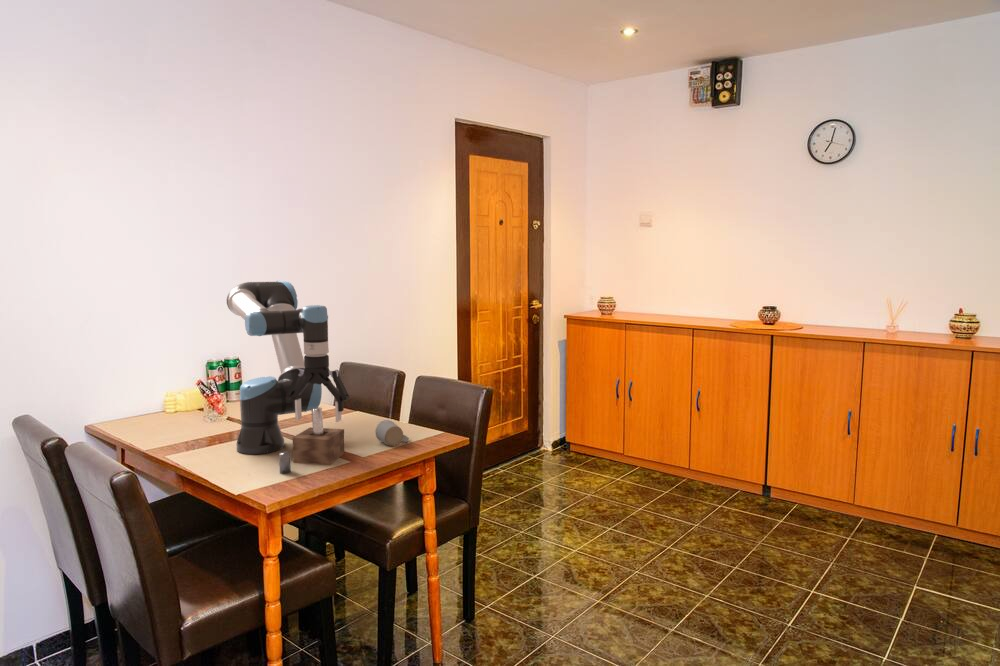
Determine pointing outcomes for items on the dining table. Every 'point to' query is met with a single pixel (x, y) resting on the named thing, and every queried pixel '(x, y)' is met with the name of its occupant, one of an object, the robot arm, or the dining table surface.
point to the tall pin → (317, 421)
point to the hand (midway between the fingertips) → (318, 420)
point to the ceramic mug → (390, 433)
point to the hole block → (318, 446)
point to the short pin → (284, 462)
